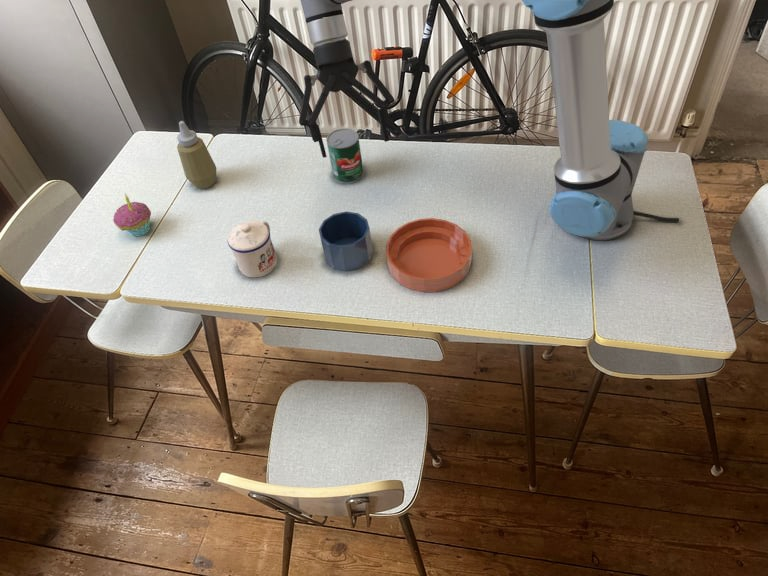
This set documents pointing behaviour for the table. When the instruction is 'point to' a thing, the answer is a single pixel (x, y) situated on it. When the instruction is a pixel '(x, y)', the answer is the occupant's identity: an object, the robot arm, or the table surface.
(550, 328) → the table surface
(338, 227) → the blue faceted pot
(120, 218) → the cupcake
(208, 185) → the squeeze bottle
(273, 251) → the teacup with lid
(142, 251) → the table surface
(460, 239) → the lower bowl
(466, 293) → the table surface
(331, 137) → the canned tomato
